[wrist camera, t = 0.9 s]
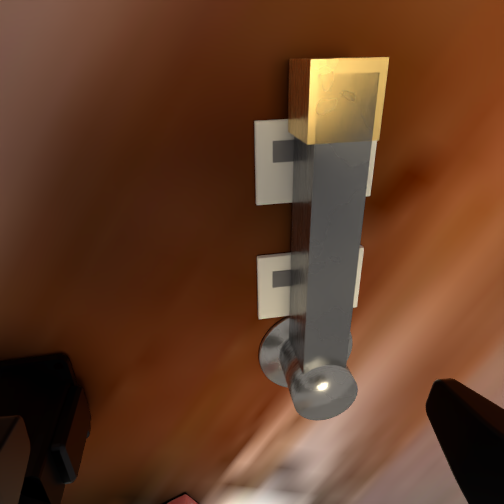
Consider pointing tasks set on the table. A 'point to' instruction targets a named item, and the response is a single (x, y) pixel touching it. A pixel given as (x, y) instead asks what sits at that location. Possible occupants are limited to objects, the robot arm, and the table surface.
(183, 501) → the ink cartridge box
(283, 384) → the pivot base
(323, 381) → the swing arm
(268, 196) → the label tile
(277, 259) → the label tile
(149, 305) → the table surface
